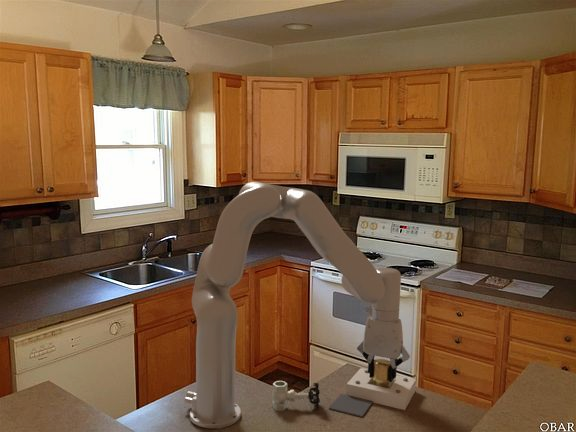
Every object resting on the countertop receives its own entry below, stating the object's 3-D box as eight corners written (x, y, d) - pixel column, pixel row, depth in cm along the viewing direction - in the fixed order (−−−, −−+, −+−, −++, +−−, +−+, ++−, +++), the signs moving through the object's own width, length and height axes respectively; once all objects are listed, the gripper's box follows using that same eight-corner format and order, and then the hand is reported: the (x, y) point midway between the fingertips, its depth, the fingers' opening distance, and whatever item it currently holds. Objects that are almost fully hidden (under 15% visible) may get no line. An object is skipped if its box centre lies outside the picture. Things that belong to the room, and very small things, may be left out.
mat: (328, 409, 133) (328, 407, 133) (341, 394, 141) (341, 393, 141) (362, 417, 129) (362, 416, 129) (372, 402, 137) (373, 401, 137)
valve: (272, 414, 130) (319, 413, 131) (272, 389, 129) (320, 389, 130) (271, 401, 137) (316, 401, 138) (271, 378, 136) (316, 377, 137)
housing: (346, 396, 141) (346, 382, 140) (360, 379, 151) (360, 366, 151) (404, 410, 134) (405, 395, 133) (415, 391, 144) (415, 378, 144)
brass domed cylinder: (370, 395, 141) (371, 363, 140) (375, 388, 146) (376, 357, 145) (387, 399, 139) (388, 367, 138) (391, 392, 144) (393, 361, 143)
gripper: (350, 312, 140) (347, 376, 142) (413, 322, 133) (409, 390, 135) (359, 305, 147) (356, 367, 149) (419, 315, 139) (415, 379, 142)
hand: (381, 377), depth 142 cm, fingers closed on brass domed cylinder, 4 cm apart
